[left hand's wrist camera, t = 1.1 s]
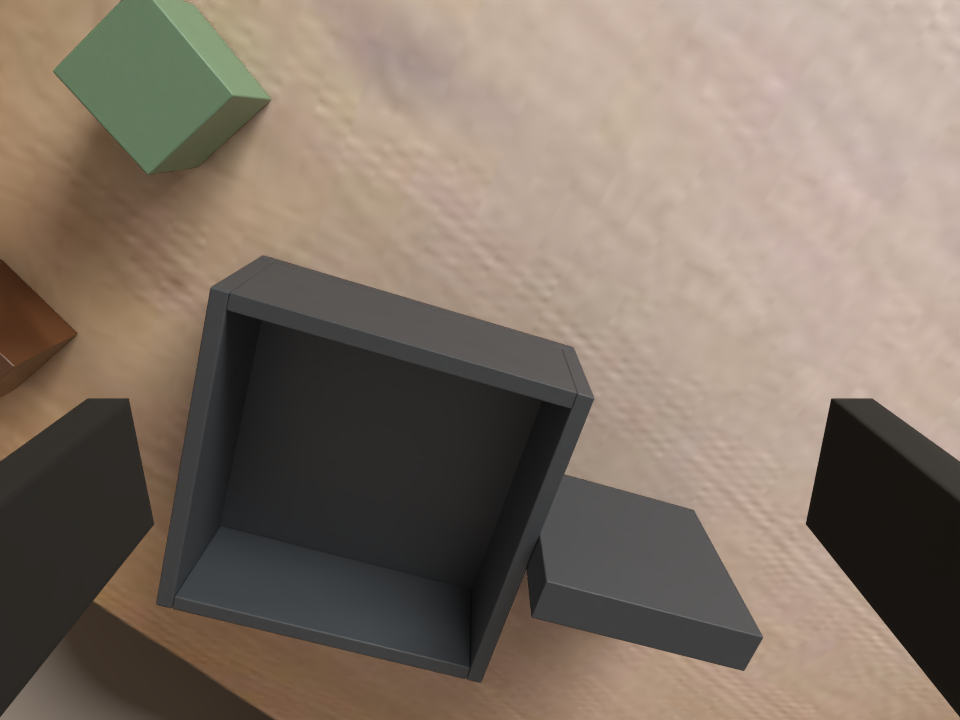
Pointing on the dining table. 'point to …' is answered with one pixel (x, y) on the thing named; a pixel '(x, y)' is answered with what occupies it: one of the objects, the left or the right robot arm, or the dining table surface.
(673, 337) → the dining table surface
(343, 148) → the dining table surface
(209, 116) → the green block
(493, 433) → the tote
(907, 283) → the dining table surface
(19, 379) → the walnut block
